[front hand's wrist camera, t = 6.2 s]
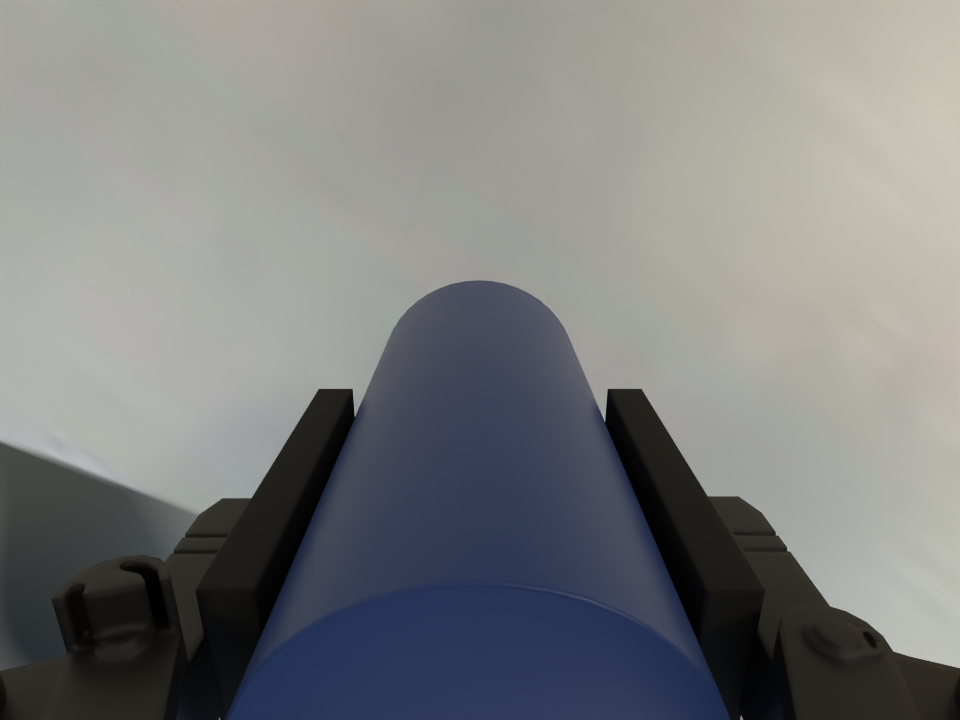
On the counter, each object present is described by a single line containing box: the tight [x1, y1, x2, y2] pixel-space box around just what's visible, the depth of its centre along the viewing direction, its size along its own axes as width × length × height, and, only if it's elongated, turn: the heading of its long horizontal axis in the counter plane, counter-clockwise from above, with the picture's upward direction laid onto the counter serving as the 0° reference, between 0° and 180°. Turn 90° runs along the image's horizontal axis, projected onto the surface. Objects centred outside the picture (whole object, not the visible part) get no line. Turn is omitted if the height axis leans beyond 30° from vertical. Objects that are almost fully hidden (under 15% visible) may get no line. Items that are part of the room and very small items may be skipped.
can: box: [225, 281, 730, 720], centre depth 13 cm, size 6×6×13 cm
